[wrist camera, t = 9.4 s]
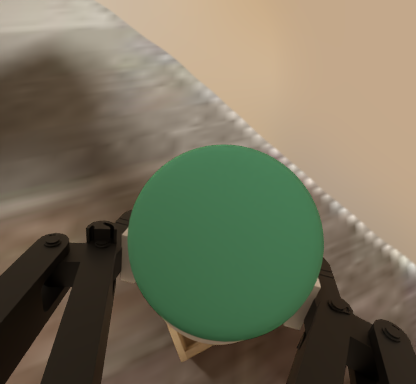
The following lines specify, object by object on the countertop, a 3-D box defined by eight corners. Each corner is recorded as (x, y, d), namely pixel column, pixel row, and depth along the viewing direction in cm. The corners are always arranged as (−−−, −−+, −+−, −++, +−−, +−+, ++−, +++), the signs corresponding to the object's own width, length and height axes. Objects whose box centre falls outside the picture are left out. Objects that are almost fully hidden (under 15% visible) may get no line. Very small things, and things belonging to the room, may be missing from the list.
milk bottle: (156, 266, 25) (-11, 202, 6) (220, 215, 27) (243, 43, 8) (207, 339, 23) (191, 577, 4) (274, 280, 25) (482, 257, 6)
